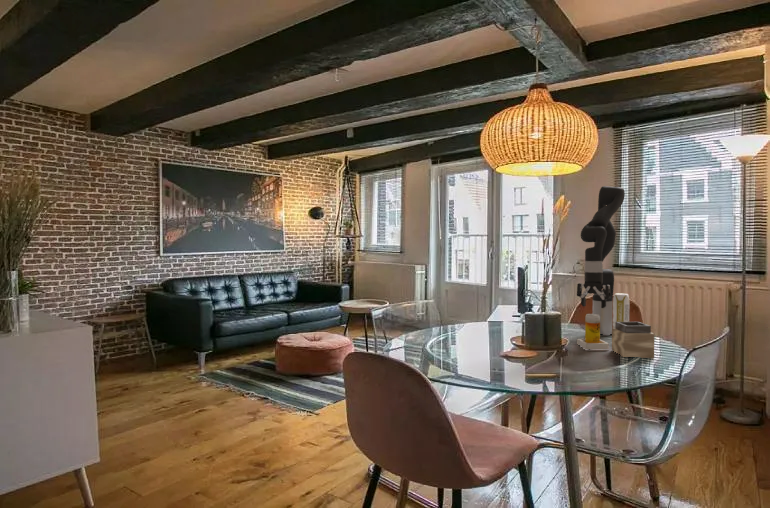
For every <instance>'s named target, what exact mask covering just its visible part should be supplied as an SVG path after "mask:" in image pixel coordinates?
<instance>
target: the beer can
mask: <svg viewBox="0 0 770 508" xmlns="http://www.w3.org/2000/svg"><path fill="white" fill-rule="evenodd" d="M584 318H585V319H584V320H585V322H584V323H585V326H584V328H585V329H584V334H585V335H584V339H585V342H586V343H600V339H601V335H600V316H599V315H598V314H593V313H586V315H585V317H584Z"/></svg>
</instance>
